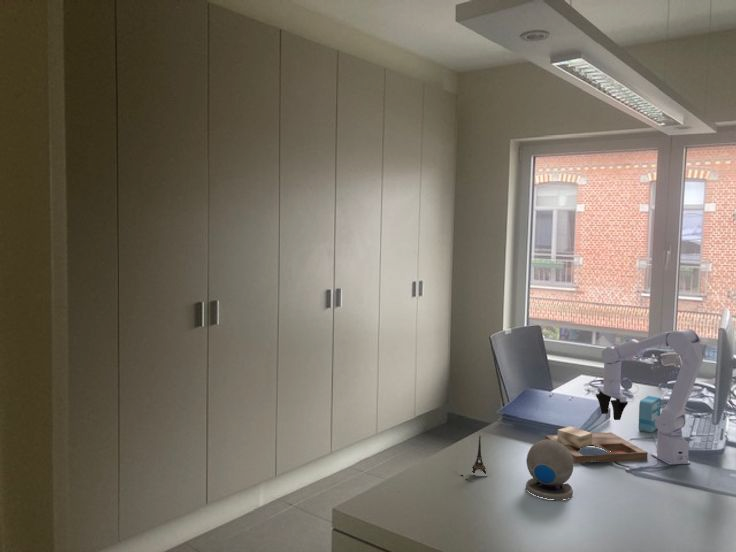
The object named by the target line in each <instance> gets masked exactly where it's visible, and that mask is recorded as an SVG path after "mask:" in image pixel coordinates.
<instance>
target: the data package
mask: <svg viewBox="0 0 736 552" xmlns="http://www.w3.org/2000/svg"><path fill="white" fill-rule="evenodd" d="M638 404H639V405H638V406H639V407H638V427H637V428H638V431H639V432H645V433H647V434H648V433H649V434H652V433H653V432H655V431H656V430H658V429H657V428H656V426H655V420H656V418H657V417H658V416H659V415H660V414H661V404H662V399H661V397H657V396H653V395H651V396H650V395H647V396H646V397H644V398H641V400H640V401H639V403H638Z"/></svg>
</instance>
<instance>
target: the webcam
mask: <svg viewBox="0 0 736 552" xmlns="http://www.w3.org/2000/svg"><path fill="white" fill-rule="evenodd" d="M574 464H575V463H574V462H573V458H572V455H571V453H570V451H569V450H568V449H567V448H566V447H565V446H564V445H563V444H561V443H560V442H558V441H555V440H550V439H547V440H545V439H542V440H539V441H537V442H536V443H533V445H532V446H531V447H530V449H529V450H528V452H527V456H526V467H527V470H528V472H529V475H530V476H531V477H532V478H529V479H528V480H527V481H526V483H525V490H526V489H527V490H528V491H529V492H530V493H532V494H534V495H536V496H539V497H543V498H547V499H554V500H563V499H567V500H569V499H568V498H570V497H571V498H572V497H573V496H572V495H573V494H574V493H573V492H574V490H573V487H572V486H571V485H570V484H569V483H568V481H569V479H570V478H571V476H572V475H573V471H574ZM566 482H567V483H566ZM571 498H570V499H571ZM563 501H564V500H563Z"/></svg>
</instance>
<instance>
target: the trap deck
mask: <svg viewBox="0 0 736 552" xmlns="http://www.w3.org/2000/svg"><path fill="white" fill-rule="evenodd" d="M591 433H592V445H589V446H595V447H599V448H602V449H604V450H605V451H607V454H601V455H582V454H581V453H579V452H578V451H579V450H580V448H577V447H574V446H571V445H568V444H565V443H562V442H560V443H561V444H563V445H564V446H565V447H566V448H567V449H568V450H569V451H570V453H571V455H572V458H573V463H574V464H575V463H581V464H586V463H585V462H591V461H593V462H594V461H596V462H597V461H599V463H613V462H615V461H616V462H633V461H647V460H648V451H646V450H643V449H642V448H640V447H638V446H637V445H635V444H633V443H631V442H629V441H627V440H626V439H624V438H622V437H620V436H618V435H617V434H615V433H613V432H591ZM557 438H558V434H551V435H550V434H548V435H547V434H546V435H545V439H544V440H547V439H550V440H555V441H557ZM558 442H559V441H558ZM610 451H611V452H610ZM616 462H615V463H616Z"/></svg>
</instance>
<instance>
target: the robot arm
mask: <svg viewBox="0 0 736 552" xmlns="http://www.w3.org/2000/svg"><path fill="white" fill-rule="evenodd" d="M660 345H662V346H665V347H669V348H671V349H672V351H674V352H675V353H676V354H677V355H678V356H679V358H680V359H681V360H682V364H681V366H680V369H679V372H678V374H677V377H676V379H675V382H674V384H673V388H672V390H671V393H670V395H669V399H668V401H667V404H666V405H665V406H664V407H663V409H662V410H661V411H660V415H659V416H658V417H657V418H656V420H655V426H656V428H657V429H656V430H657V447H656V452H652V453H650V455H651V456H653V457H654V458H656V459H658V460H660V461H662V462H664V463H665V464H667V465H685V464H689V465H690V464H691V462H690V461H689V448H690V446H689V442H688V441H687V440H686V438H684V436H683V430H682V429H683V428H684V427H685V426H686V422H687V421H686V414H687V409H686V406H687V403H688V400H689V398H690V396H691V393H692V391H693V388H694V385H695V382H696V380H697V376H698V375H699V372H700V369H701V366H702V364H703V353H702V349H701V338H700V337H699V335H698V334H697V332H696V331H695V330H694V329H692V328H683V329H681V330H679V329H677V330H672V331H667V332H661V333H657V334H654V335H653V336H650V337H647V338H644V339H642V340H637V339H634V338H633V339H632V338H627V339H625V341H624V342H621V343H618V342H617V343H614V345H613V346H607V347H605V348H604V349H602V351H601V359H602V360H603V386H597V393H596V394H595V397H596V399H597V401H598V404H599V407H600V412H601V414H603V415H607V414H608V413H609V409H610V403H611V406H612V413H613V419H614V420H615V421H621V419H622V415H623V413H624V410H625V408H626V407H627V405H628V403H629V401H627V395H626V396H625V394H624V392H623V390H621V384H622V383H621V380H622V376H621V375H622V362H623V361H624V360H628V359H631V358H635V357H637V356H640V355H641V354H642V352H643V350H646V349H650V348H653V347H657V346H660Z"/></svg>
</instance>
